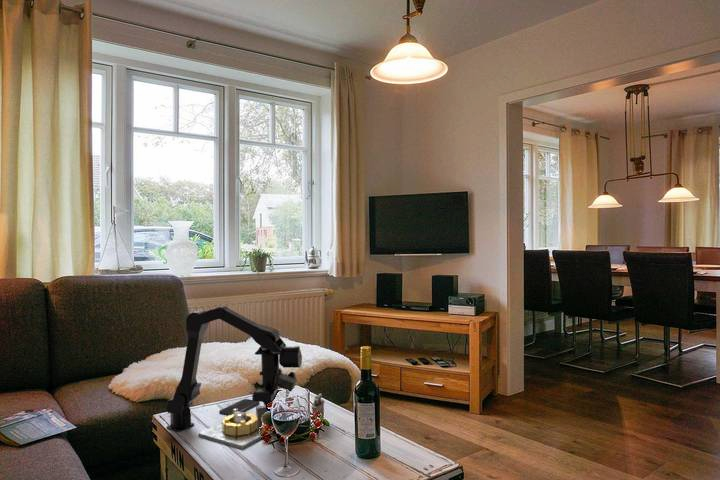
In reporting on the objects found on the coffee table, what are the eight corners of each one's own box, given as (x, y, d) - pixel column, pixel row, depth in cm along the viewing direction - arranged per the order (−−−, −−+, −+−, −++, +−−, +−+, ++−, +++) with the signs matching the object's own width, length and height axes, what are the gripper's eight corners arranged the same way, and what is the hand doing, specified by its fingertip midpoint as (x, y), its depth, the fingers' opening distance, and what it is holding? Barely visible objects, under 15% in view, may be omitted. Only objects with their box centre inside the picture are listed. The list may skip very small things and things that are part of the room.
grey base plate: (198, 436, 157) (198, 417, 157) (238, 417, 172) (238, 401, 172) (242, 449, 147) (242, 429, 147) (280, 428, 163) (280, 410, 163)
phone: (260, 401, 187) (234, 414, 174) (260, 404, 187) (234, 417, 174) (244, 398, 191) (217, 411, 177) (244, 401, 191) (217, 414, 177)
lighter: (319, 430, 161) (319, 400, 161) (309, 429, 162) (309, 399, 162) (326, 421, 169) (326, 392, 169) (316, 420, 170) (316, 391, 170)
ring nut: (226, 437, 153) (225, 418, 152) (220, 425, 162) (220, 407, 162) (283, 427, 160) (283, 409, 160) (274, 416, 170) (274, 399, 170)
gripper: (285, 375, 151) (286, 425, 151) (301, 360, 169) (302, 405, 170) (251, 375, 153) (252, 424, 153) (270, 359, 171) (271, 404, 171)
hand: (271, 414), depth 161 cm, fingers closed
